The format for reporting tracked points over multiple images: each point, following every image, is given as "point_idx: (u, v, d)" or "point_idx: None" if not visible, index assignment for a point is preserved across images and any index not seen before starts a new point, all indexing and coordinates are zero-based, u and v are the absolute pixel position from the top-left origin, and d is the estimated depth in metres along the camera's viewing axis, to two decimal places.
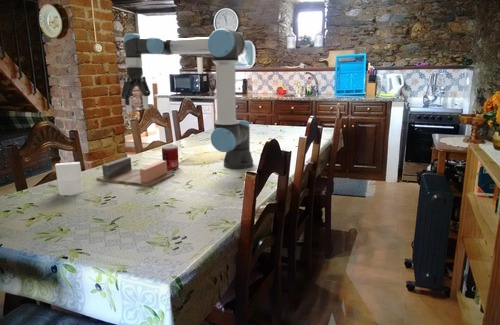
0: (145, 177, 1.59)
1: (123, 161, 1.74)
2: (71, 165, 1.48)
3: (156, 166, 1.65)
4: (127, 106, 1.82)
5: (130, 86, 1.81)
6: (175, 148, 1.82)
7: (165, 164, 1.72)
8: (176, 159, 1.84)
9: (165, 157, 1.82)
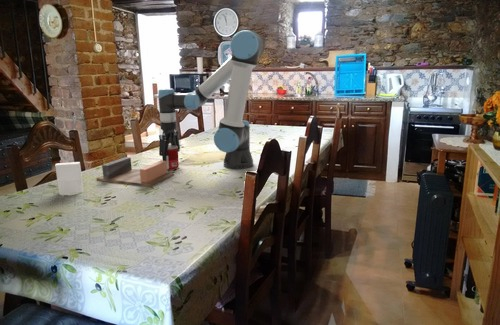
0: (145, 177, 1.59)
1: (123, 161, 1.74)
2: (71, 165, 1.48)
3: (156, 166, 1.65)
4: None
5: (165, 142, 1.80)
6: (175, 148, 1.82)
7: (165, 164, 1.72)
8: (176, 159, 1.84)
9: None
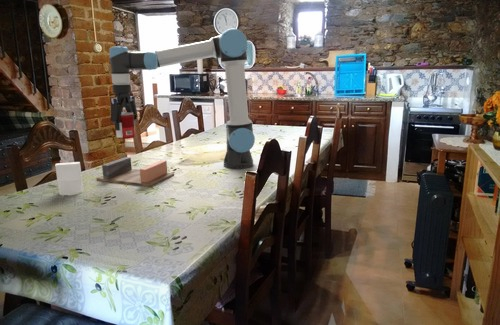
0: (145, 177, 1.59)
1: (123, 161, 1.74)
2: (71, 165, 1.48)
3: (156, 166, 1.65)
4: (117, 131, 1.62)
5: (118, 108, 1.61)
6: (129, 114, 1.63)
7: (165, 164, 1.72)
8: (131, 127, 1.64)
9: None
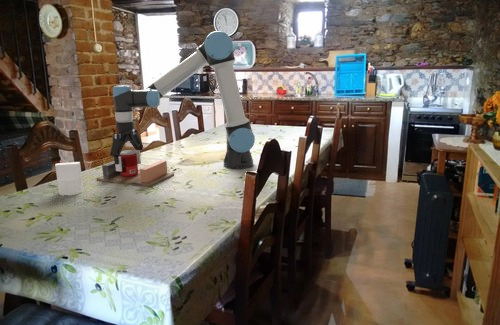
0: (145, 177, 1.59)
1: None
2: (71, 165, 1.48)
3: (156, 166, 1.65)
4: (117, 165, 1.64)
5: (120, 143, 1.63)
6: (133, 153, 1.67)
7: (165, 164, 1.72)
8: (134, 165, 1.69)
9: (122, 163, 1.66)
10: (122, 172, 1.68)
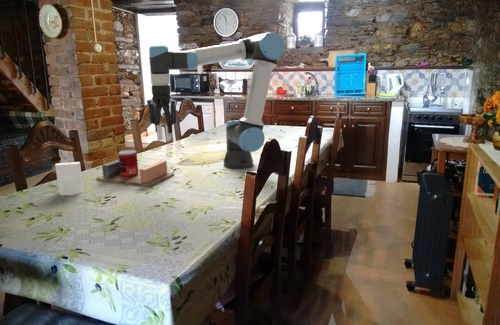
0: (145, 177, 1.59)
1: None
2: (71, 165, 1.48)
3: (156, 166, 1.65)
4: None
5: None
6: (133, 153, 1.67)
7: (165, 164, 1.72)
8: (134, 165, 1.69)
9: (122, 163, 1.66)
10: (122, 172, 1.68)
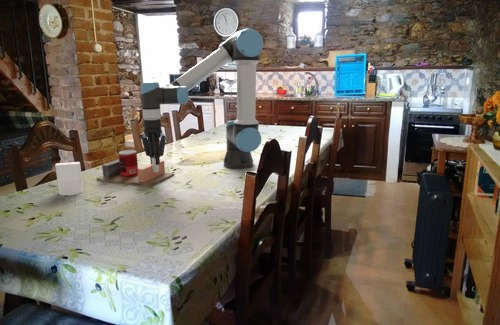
0: (143, 177, 1.59)
1: None
2: (71, 165, 1.48)
3: None
4: None
5: None
6: (133, 153, 1.67)
7: (163, 164, 1.72)
8: (134, 165, 1.69)
9: (122, 163, 1.66)
10: (122, 172, 1.68)
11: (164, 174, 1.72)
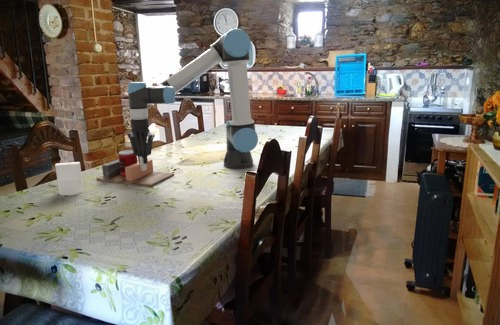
0: (130, 175, 1.61)
1: None
2: (71, 165, 1.48)
3: None
4: None
5: None
6: (133, 153, 1.67)
7: (151, 163, 1.74)
8: None
9: (122, 163, 1.66)
10: (122, 172, 1.68)
11: (164, 174, 1.72)
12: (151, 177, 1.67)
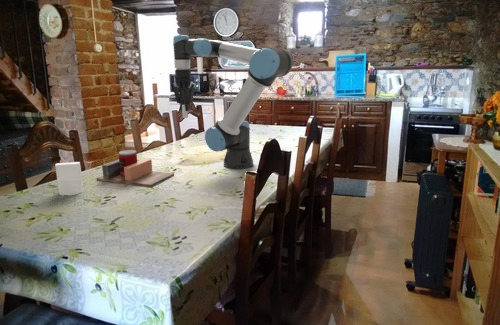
0: (129, 175, 1.62)
1: None
2: (71, 165, 1.48)
3: (140, 164, 1.68)
4: None
5: None
6: (133, 153, 1.67)
7: (150, 163, 1.74)
8: None
9: (122, 163, 1.66)
10: (122, 172, 1.68)
11: (164, 174, 1.72)
12: (151, 177, 1.67)
